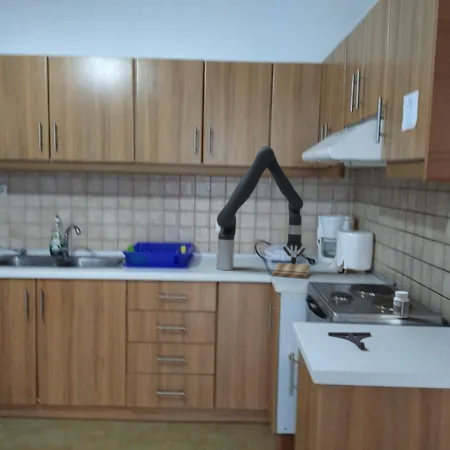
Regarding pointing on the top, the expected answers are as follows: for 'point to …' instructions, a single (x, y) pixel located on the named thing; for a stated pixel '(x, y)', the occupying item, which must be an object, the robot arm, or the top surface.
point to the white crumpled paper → (337, 268)
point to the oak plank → (292, 267)
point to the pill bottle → (401, 303)
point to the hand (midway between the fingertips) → (293, 263)
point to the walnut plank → (290, 274)
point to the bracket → (352, 337)
